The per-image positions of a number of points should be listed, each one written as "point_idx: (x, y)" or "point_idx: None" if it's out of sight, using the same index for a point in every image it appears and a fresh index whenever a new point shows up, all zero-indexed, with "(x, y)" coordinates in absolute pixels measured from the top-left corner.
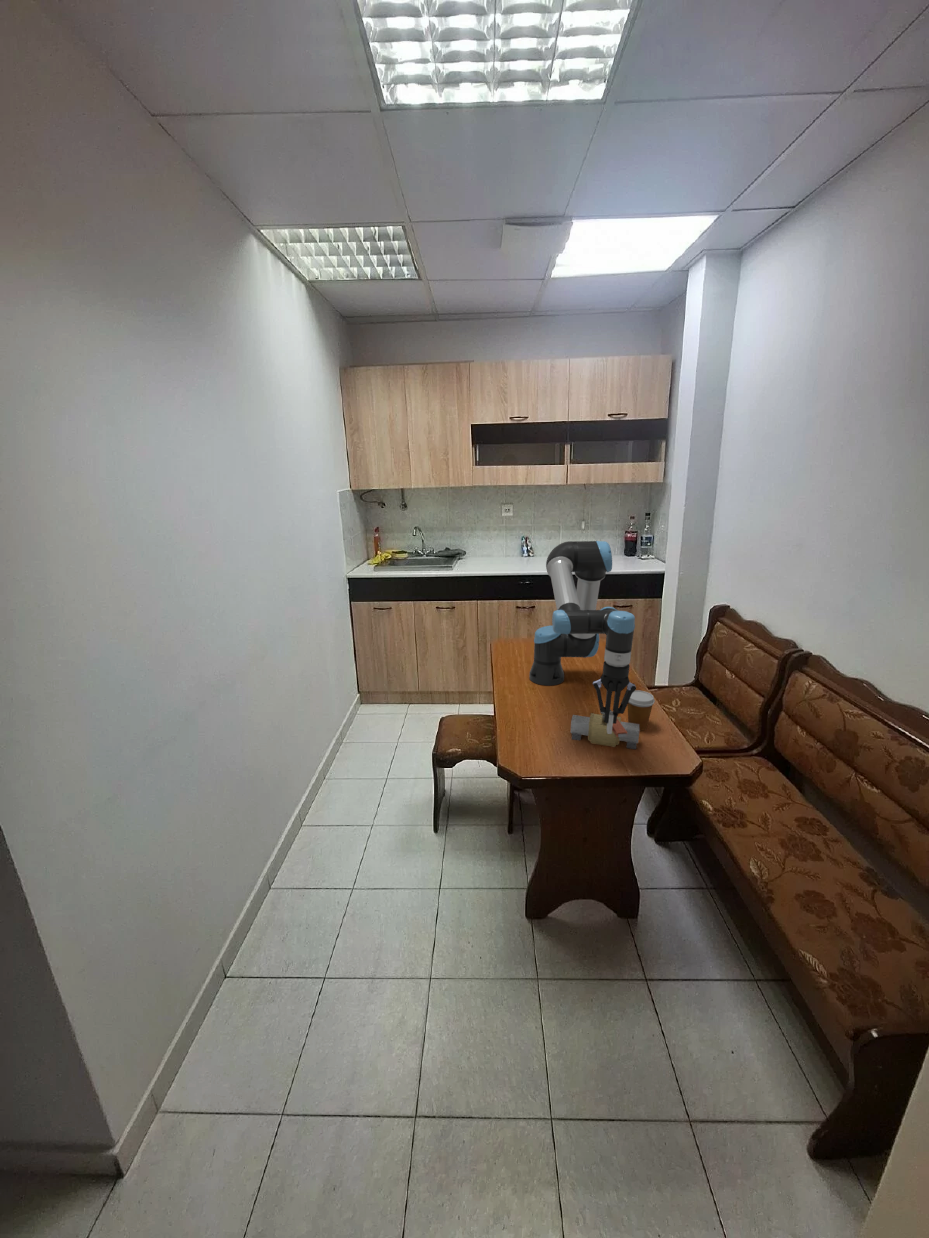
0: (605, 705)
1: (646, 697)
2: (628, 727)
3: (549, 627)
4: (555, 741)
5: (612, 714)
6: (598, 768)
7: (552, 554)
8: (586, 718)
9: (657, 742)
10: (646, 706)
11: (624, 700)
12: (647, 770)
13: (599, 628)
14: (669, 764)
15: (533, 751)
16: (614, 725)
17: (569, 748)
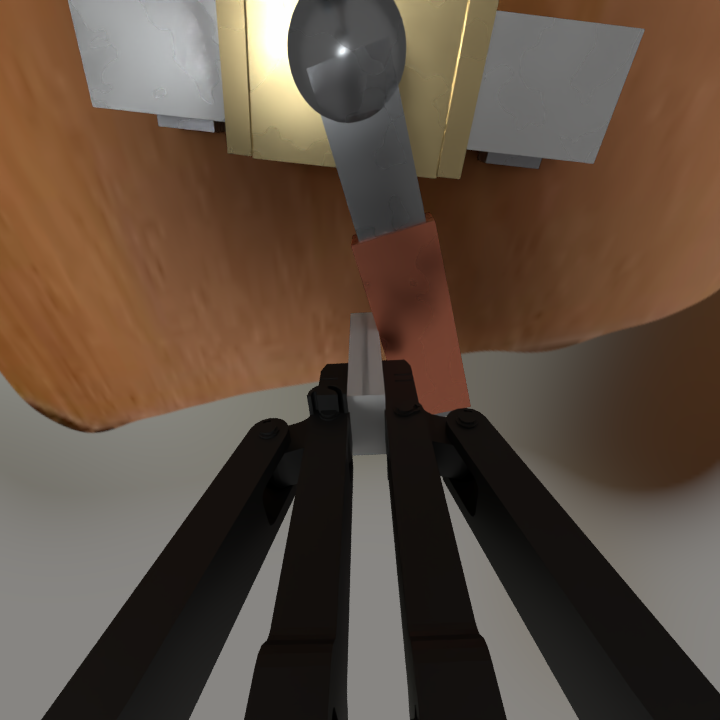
0: (305, 454)
1: None
2: (528, 119)
3: None
4: (101, 170)
5: (378, 440)
6: (331, 350)
7: None
8: (195, 17)
9: (698, 38)
10: None
11: (514, 597)
12: (521, 330)
13: None
14: (639, 272)
15: (48, 284)
16: (400, 344)
17: (190, 227)
